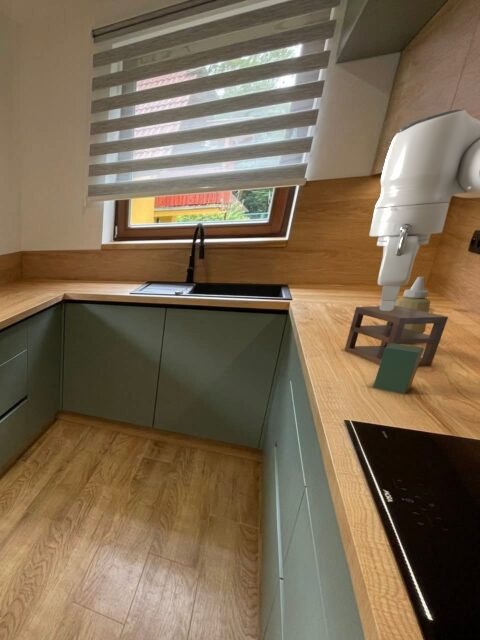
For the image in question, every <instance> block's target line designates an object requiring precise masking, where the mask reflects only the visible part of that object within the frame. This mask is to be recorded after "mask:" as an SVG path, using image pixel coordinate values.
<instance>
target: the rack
mask: <svg viewBox="0 0 480 640" xmlns="http://www.w3.org/2000/svg"><path fill="white" fill-rule="evenodd" d="M364 316H366V317H369V318H374V319H378V320H381V321H385V322H386V324H387V325H386V324H378V325H377V324H375V325H374V324H373V325H362V322H363V320H364V319H363V318H364ZM448 319H449V316H447V315H442V314H437V313H432V312H424V311H419V310H415V309H410V308H406V307H401V306H394V309H393V310H392V311H382V310H380V305H378V306H356V307H355V309H354V314H353V318H352V321H351V324H350V328H349V331H348V336H347V339H346V343H345V347H344V351H345V352H347V353H350V354H353V355H354V356H358V357H360V358H363V359H365V360H368V361H370V362H373V363H375V364H377V365H380V363H381V360H382V356H383V353H384V350H385V348H386V347H387V346H389V345H390V344H391V343H394V344H401V345H410V344H411V345H412V344H413V345H414V344H416V345H418V344H426V345H425V347H424V350H423V353H422V356H421V358H420V361H419V364H418V367H431V366H432V364H433V361H434V359H435V356H436V353H437V350H438V347H439V344H440V342H441V339H442V336H443V333H444V331H445V328H446V325H447V322H448ZM405 324H426V325H428V324H429V325H431V324H432V328H431V329H430V332H429V334H427V333H419V332H416V331H412V330H409V329H405V328H404V326H405ZM360 334H361V335H363V336H366V337H370V338H373V339H375V340H378V341H381V342H380V345H356V343H357V340H358V336H359V335H360Z"/></svg>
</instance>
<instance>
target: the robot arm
mask: <svg viewBox="0 0 480 640" xmlns="http://www.w3.org/2000/svg"><path fill="white" fill-rule="evenodd" d="M380 186H381V187H380V188H381V189H380V190H381V191H380V195H379V196H380V197H379V198H378V200H377V202H376V204H375V205H374V211H373V216H372V220H371V223H370V230H369V234H368V236H369V237H372V238H373V237H374V238H375V237H377V242H376V246H377V247H383V249H382V250H383V251H382V257H381V258H382V259H381V263H380V267H379V272H378V276H377V285H378V286H381V287H382V289H381V298H380V303H379V306H380V310H382V311H392V310H393V309H394V306H395V304H396V301H397V299H398V296H399V293H400V291H401V287H403V286H407V285H408V284H409V281H410V278H411V275H412V271H413V267H414V262H415V259H416V256H417V254H418V252H419V249H420V247H421V246H423V245H428V244H429V241H430V238H431V235H432V234H442V233H443V230H444V226H445V222H446V219H447V214H448V211H449V207H450V203H451V199H452V197H457V198H463V199H479V198H480V119H477V118H476V117H473V116H471V115H470V114H469V113H468V112H467V110H465V109H454V110H453V109H452V110H448V111H444V112H440V113H437V114H434V115H429V116H427V117H425V118H421V119H418V120H416V121H412V122H411V123H409V124H406V125H404V126H403V127H402V128H400V129H399V130H398V131H397V132H396V134H395V135H394V137H393V139H392V141H391V143H390V146H389V148H388V151H387V154H386V158H385V160H384V164H383V169H382V173H381V177H380Z"/></svg>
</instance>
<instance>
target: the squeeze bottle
mask: <svg viewBox="0 0 480 640" xmlns="http://www.w3.org/2000/svg"><path fill="white" fill-rule="evenodd" d="M403 291H404V292H403V295H402V296H401V297H399V298H397V299H396V302H395V306H401V307H406V308H410V309H415V310H419V311H424V312H428V313H430V312H429V310H430V306H431V300H430V299H429V298H428V295H429V290H425V276H418V277H416V279H415V281H414V283H413V284H412V286H411V287H410V288H409V289H405V290H403ZM385 325H387V323H386V324H385ZM404 328H405V329H409V330H412V331H416V332H419V333H423V334H425V332H426V328H427V324H405V326H404Z"/></svg>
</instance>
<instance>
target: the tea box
mask: <svg viewBox="0 0 480 640" xmlns="http://www.w3.org/2000/svg"><path fill="white" fill-rule="evenodd" d="M424 351H425V347H421V346H414V345H409V344H394V343H391V344H390V345H389V346H387V347H386V348H385V350H384V353H383V356H382V360H381V363H380V364H379V366H378V370H377V372H376V375H375V378H374V379H375V380H374V384H373V385H372V388H374V389H379V390H384V391H389V392H393V393H399V394H403V395H404V394H406V393H407V392H408V391H409V390H410V389H411V388H412V385H413V382H414V379H415V376H416V374H417V370H418V368H419V366H418V364H419V361H420V358H422V357H423V354H424Z"/></svg>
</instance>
